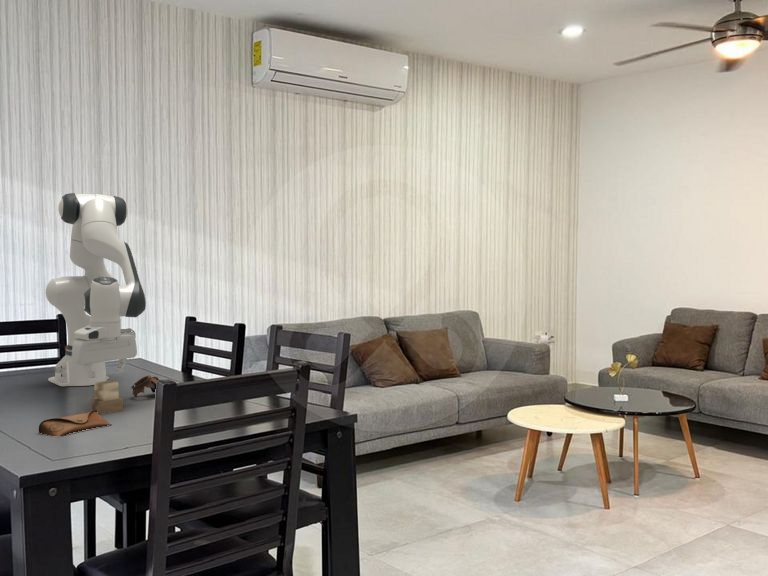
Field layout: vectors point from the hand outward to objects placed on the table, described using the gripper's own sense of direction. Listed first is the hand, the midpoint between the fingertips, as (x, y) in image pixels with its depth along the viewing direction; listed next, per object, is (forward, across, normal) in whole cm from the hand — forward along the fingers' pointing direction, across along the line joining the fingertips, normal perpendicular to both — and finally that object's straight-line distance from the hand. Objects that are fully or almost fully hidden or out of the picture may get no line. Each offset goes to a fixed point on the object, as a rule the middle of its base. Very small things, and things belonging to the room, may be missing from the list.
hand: (105, 375), depth 233 cm
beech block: (+7, 0, +1) cm, 7 cm away
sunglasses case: (+11, +18, +15) cm, 26 cm away
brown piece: (+11, -21, -7) cm, 25 cm away
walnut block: (+11, 0, +1) cm, 11 cm away
